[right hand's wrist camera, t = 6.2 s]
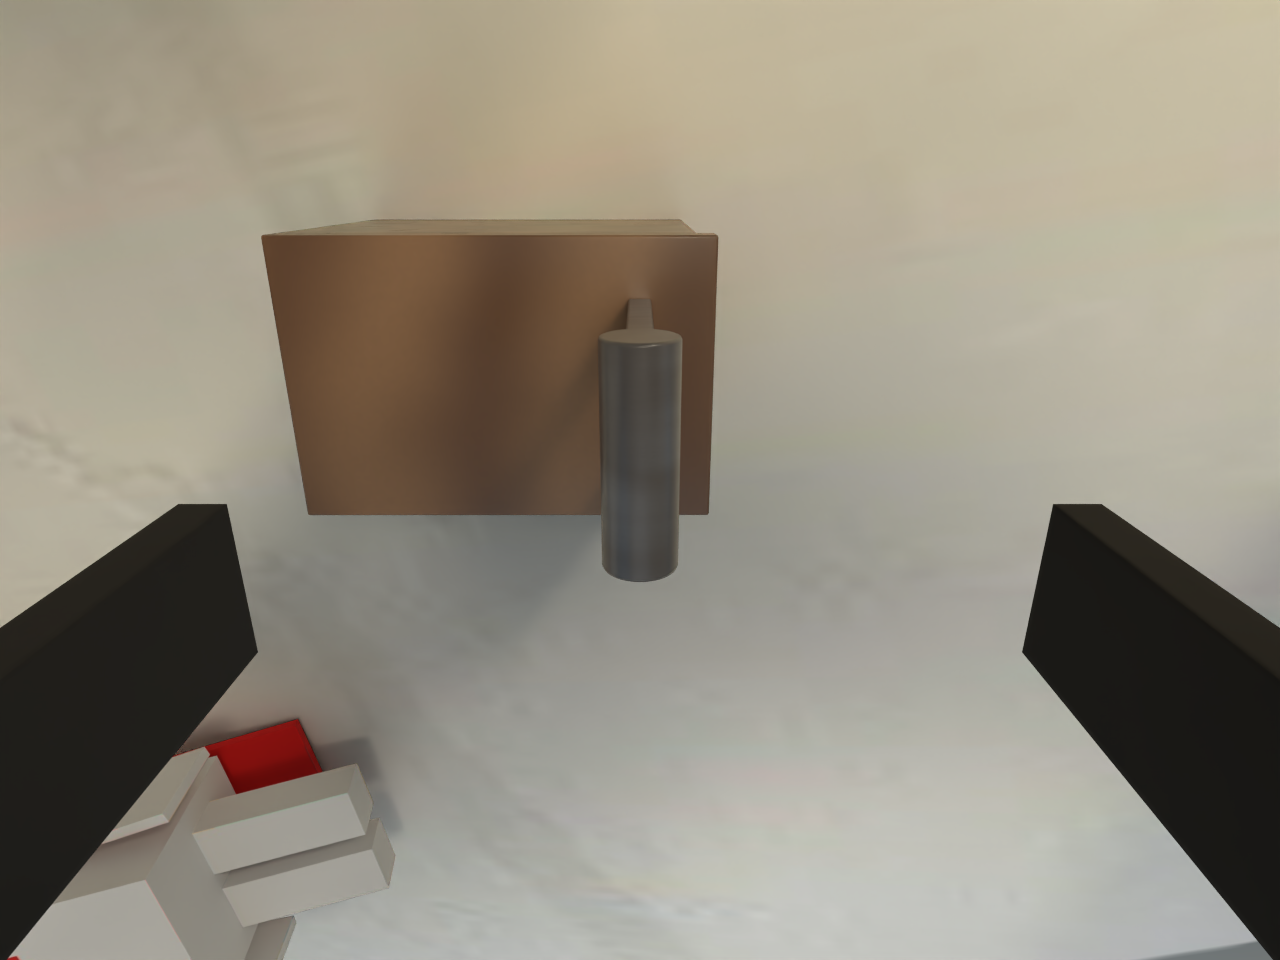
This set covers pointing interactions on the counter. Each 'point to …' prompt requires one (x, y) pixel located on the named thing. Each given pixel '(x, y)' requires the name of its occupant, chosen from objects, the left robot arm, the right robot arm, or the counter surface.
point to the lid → (504, 377)
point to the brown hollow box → (506, 226)
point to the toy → (221, 858)
